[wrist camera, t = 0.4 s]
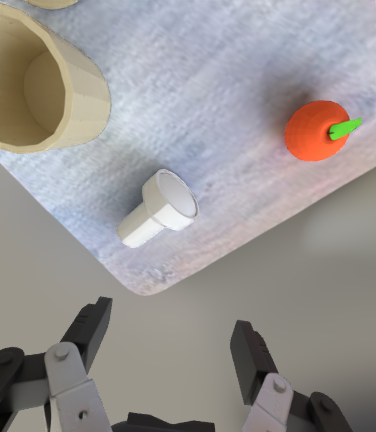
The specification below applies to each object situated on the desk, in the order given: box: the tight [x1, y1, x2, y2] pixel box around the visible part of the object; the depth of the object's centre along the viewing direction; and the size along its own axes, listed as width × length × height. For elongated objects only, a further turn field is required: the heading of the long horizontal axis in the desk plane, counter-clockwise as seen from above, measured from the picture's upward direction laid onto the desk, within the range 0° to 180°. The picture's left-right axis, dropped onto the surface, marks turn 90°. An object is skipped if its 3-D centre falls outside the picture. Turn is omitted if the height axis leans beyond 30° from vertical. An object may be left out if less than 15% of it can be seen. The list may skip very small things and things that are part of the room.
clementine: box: [285, 100, 362, 161], centre depth 27 cm, size 8×7×7 cm
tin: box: [0, 3, 111, 154], centre depth 24 cm, size 11×11×10 cm
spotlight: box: [116, 169, 200, 248], centre depth 32 cm, size 8×11×8 cm
